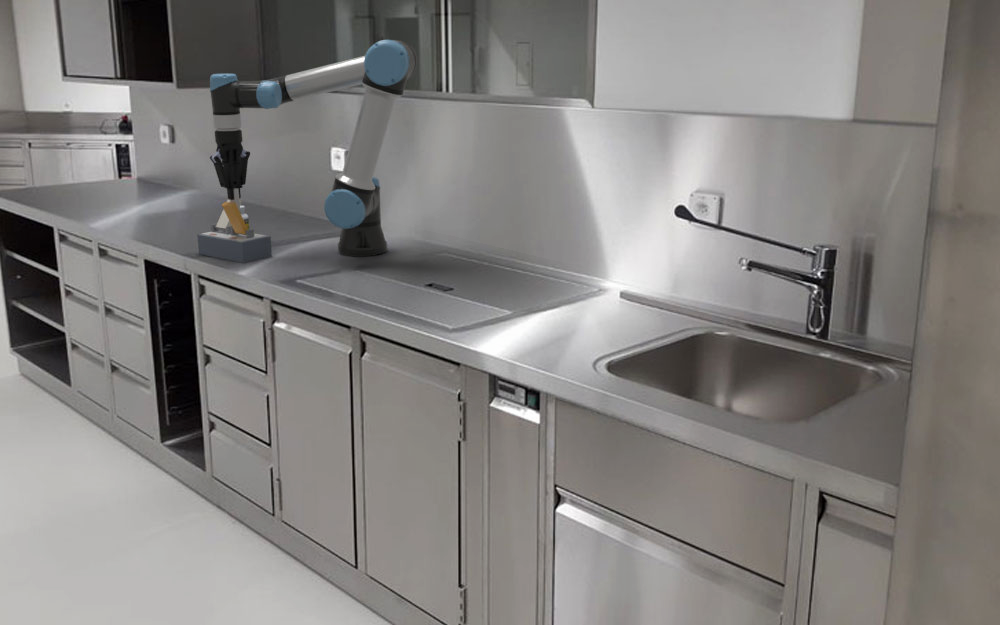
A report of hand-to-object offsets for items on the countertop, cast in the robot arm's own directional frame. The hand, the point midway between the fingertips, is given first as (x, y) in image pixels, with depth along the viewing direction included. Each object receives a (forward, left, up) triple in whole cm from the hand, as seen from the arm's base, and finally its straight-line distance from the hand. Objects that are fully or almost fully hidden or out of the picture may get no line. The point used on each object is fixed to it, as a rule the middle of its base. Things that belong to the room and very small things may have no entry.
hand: (235, 210), depth 273 cm
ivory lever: (+9, -2, -7) cm, 11 cm away
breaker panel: (+4, -2, -14) cm, 15 cm away
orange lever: (0, -2, -7) cm, 7 cm away
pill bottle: (+17, -14, -15) cm, 26 cm away
